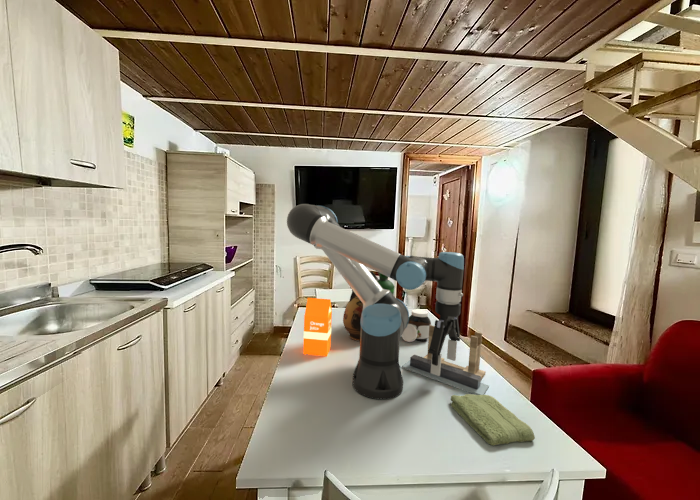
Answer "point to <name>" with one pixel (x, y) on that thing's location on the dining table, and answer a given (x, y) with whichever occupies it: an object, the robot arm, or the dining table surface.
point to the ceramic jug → (354, 315)
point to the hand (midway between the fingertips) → (443, 366)
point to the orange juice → (317, 327)
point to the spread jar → (417, 326)
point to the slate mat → (480, 391)
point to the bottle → (385, 283)
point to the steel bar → (447, 372)
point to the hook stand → (473, 354)
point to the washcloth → (491, 419)
